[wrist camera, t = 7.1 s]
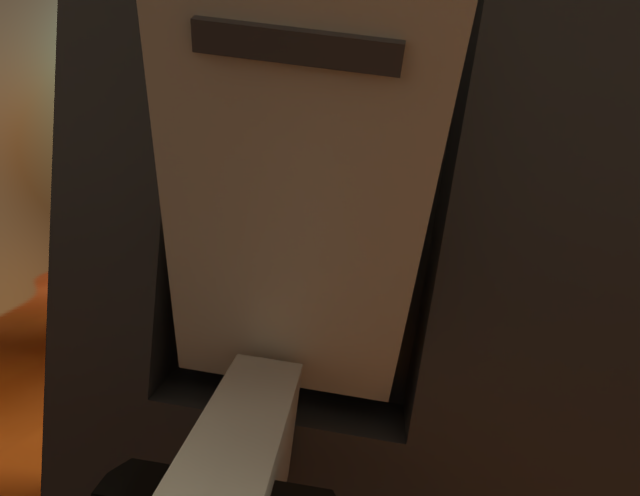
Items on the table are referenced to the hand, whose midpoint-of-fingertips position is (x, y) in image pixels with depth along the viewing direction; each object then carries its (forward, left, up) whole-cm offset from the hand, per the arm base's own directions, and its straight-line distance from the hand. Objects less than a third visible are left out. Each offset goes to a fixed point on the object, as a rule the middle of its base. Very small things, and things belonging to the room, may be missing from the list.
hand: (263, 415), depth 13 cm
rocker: (+1, -1, +1) cm, 2 cm away
